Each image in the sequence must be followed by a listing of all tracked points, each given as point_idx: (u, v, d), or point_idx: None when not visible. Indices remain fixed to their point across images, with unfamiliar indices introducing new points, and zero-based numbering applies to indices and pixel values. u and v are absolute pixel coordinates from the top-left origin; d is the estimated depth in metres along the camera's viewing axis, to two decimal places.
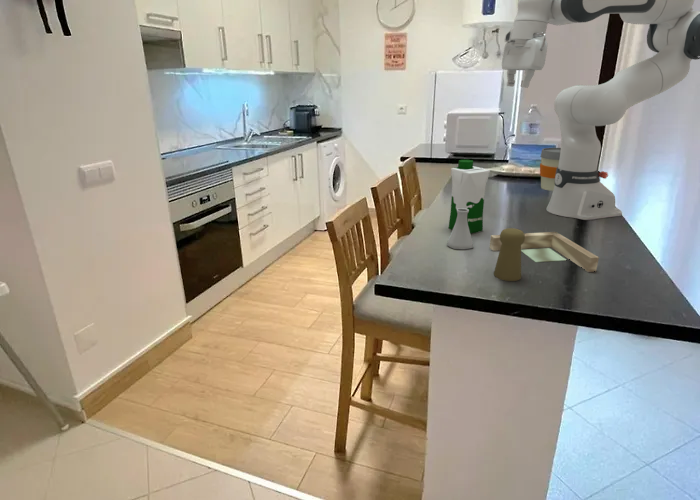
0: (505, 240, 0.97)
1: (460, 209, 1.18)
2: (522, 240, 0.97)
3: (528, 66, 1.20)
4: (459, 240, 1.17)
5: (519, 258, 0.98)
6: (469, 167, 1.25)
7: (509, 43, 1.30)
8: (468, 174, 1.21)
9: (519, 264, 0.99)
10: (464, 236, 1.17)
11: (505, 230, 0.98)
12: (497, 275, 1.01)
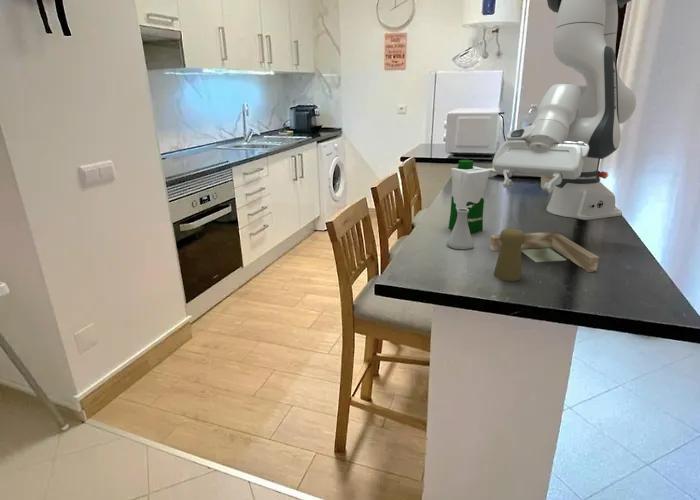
0: (505, 240, 0.97)
1: (460, 209, 1.18)
2: (522, 240, 0.97)
3: (568, 168, 0.99)
4: (459, 240, 1.17)
5: (519, 258, 0.98)
6: (469, 167, 1.25)
7: (519, 140, 1.09)
8: (468, 174, 1.21)
9: (519, 264, 0.99)
10: (464, 236, 1.17)
11: (505, 230, 0.98)
12: (497, 275, 1.01)
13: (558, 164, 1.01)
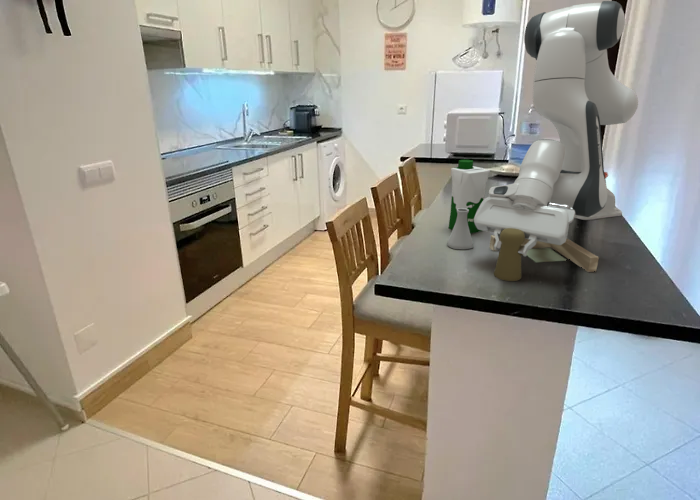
0: (505, 240, 0.97)
1: (460, 209, 1.18)
2: (522, 240, 0.97)
3: (554, 235, 0.95)
4: (459, 240, 1.17)
5: (519, 258, 0.98)
6: (469, 167, 1.25)
7: (502, 198, 1.03)
8: (468, 174, 1.21)
9: (519, 264, 0.99)
10: (464, 236, 1.17)
11: (505, 230, 0.98)
12: (497, 275, 1.01)
13: (544, 229, 0.96)
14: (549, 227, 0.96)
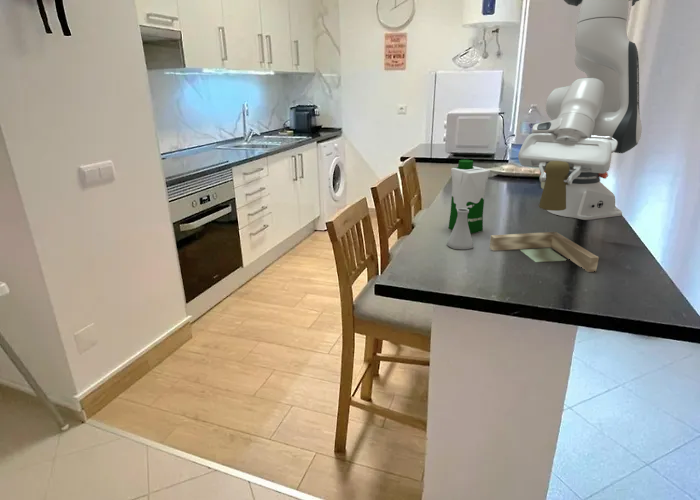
0: (551, 170, 1.03)
1: (460, 209, 1.17)
2: (567, 170, 1.03)
3: (599, 162, 1.00)
4: (459, 240, 1.17)
5: (564, 188, 1.04)
6: (469, 167, 1.25)
7: (546, 133, 1.09)
8: (468, 174, 1.21)
9: (564, 194, 1.05)
10: (464, 236, 1.17)
11: (550, 162, 1.04)
12: (543, 206, 1.06)
13: (588, 158, 1.02)
14: (593, 156, 1.02)
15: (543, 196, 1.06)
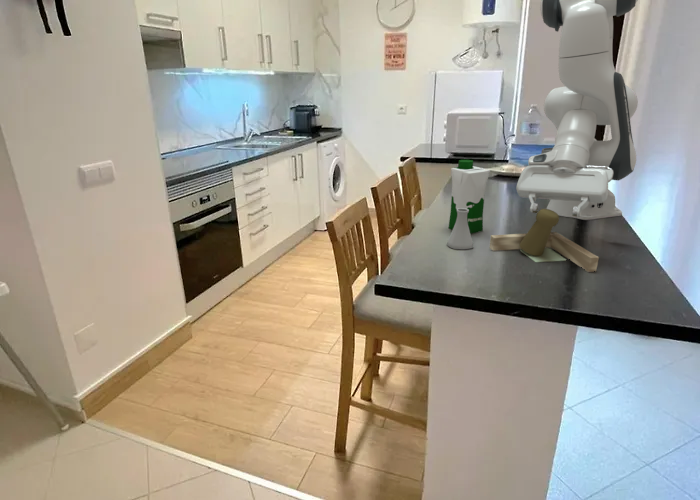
0: (541, 219, 1.07)
1: (460, 209, 1.18)
2: (556, 223, 1.07)
3: (596, 192, 1.02)
4: (459, 240, 1.17)
5: (547, 237, 1.10)
6: (469, 167, 1.25)
7: (542, 165, 1.11)
8: (468, 174, 1.21)
9: (545, 242, 1.10)
10: (464, 236, 1.17)
11: (543, 210, 1.08)
12: (523, 247, 1.12)
13: (585, 188, 1.04)
14: (590, 186, 1.03)
15: (526, 238, 1.12)
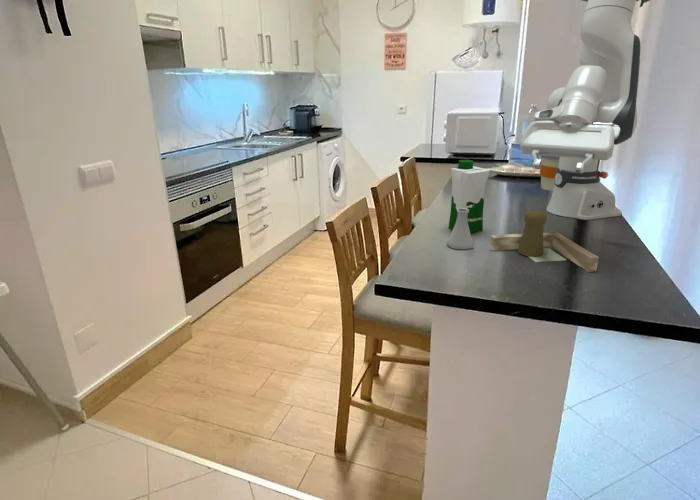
0: (529, 219, 1.09)
1: (460, 209, 1.18)
2: (545, 220, 1.09)
3: (602, 148, 0.99)
4: (459, 240, 1.17)
5: (542, 236, 1.11)
6: (469, 167, 1.25)
7: (547, 121, 1.08)
8: (468, 174, 1.21)
9: (541, 241, 1.11)
10: (464, 236, 1.17)
11: (529, 211, 1.10)
12: (522, 252, 1.13)
13: (591, 144, 1.01)
14: (596, 142, 1.01)
15: (522, 242, 1.13)
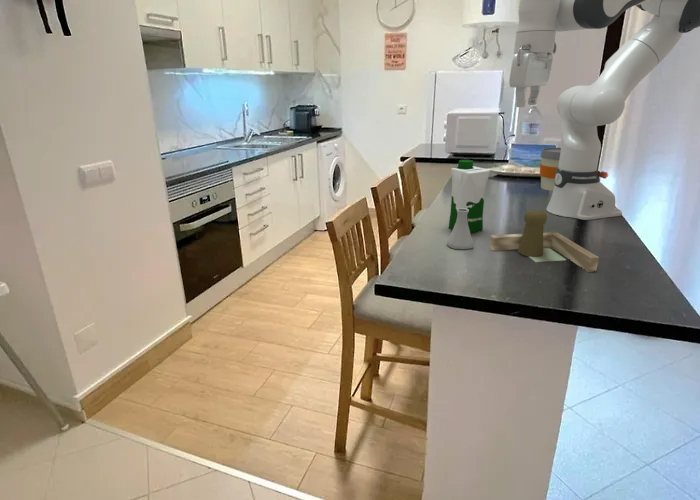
0: (529, 220, 1.09)
1: (460, 209, 1.18)
2: (545, 220, 1.09)
3: None
4: (459, 240, 1.17)
5: (542, 236, 1.11)
6: (469, 167, 1.25)
7: None
8: (468, 174, 1.21)
9: (542, 242, 1.11)
10: (464, 236, 1.17)
11: (529, 211, 1.10)
12: (522, 252, 1.13)
13: None
14: None
15: (522, 242, 1.13)
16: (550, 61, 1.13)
